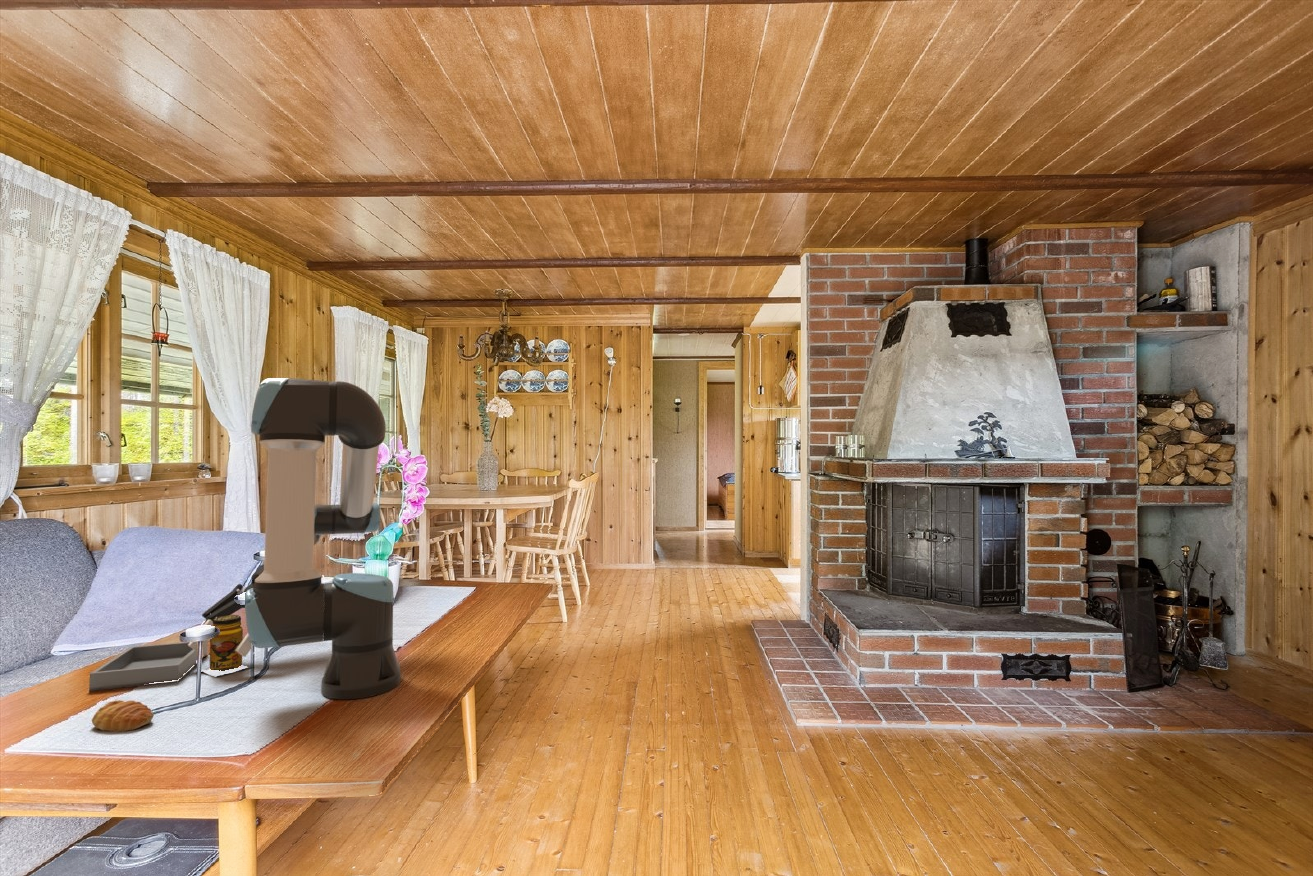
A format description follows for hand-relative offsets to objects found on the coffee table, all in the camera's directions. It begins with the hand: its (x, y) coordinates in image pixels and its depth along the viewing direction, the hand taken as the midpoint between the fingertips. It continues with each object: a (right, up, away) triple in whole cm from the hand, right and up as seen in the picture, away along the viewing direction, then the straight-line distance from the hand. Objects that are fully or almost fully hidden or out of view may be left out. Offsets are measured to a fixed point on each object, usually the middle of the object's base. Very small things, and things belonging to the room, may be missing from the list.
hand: (216, 651), depth 136 cm
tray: (-14, -5, 0) cm, 15 cm away
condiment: (+1, -5, +2) cm, 6 cm away
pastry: (+2, -4, -26) cm, 27 cm away
